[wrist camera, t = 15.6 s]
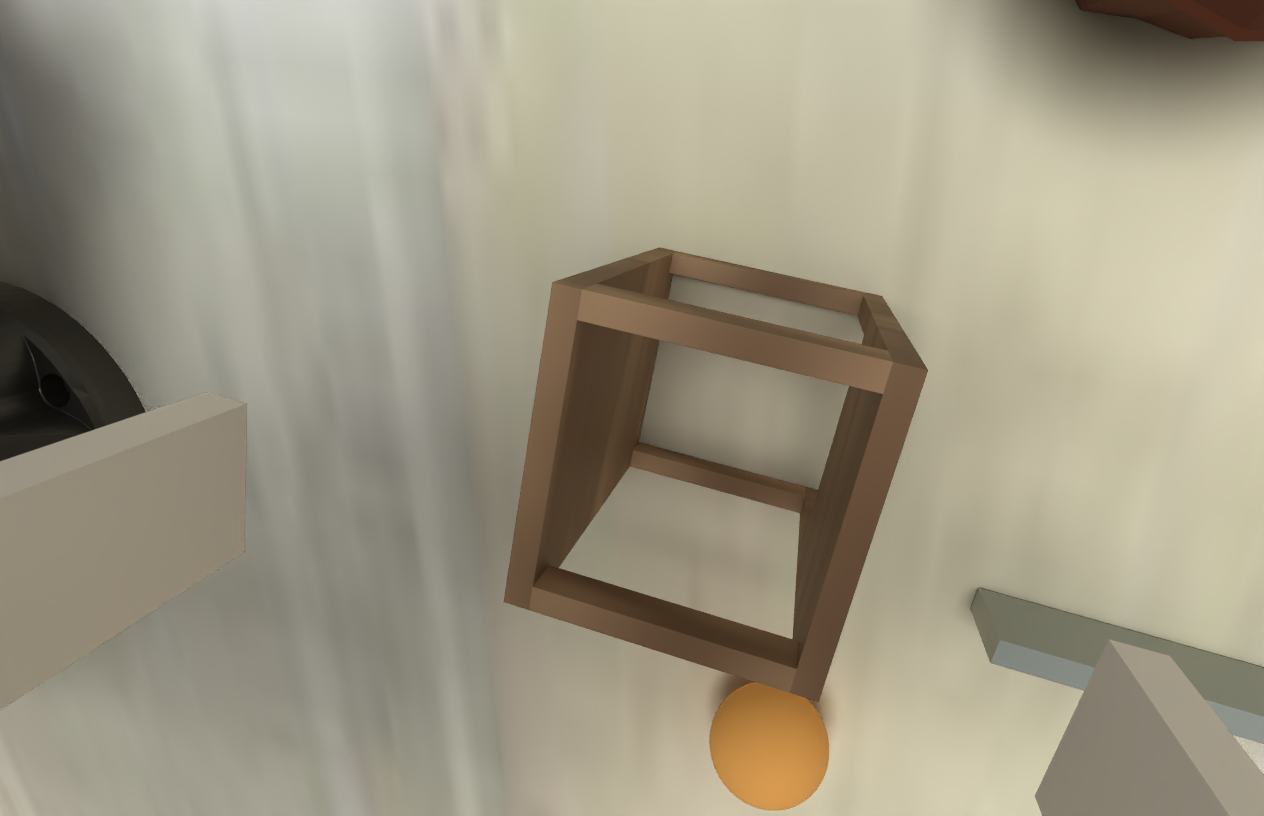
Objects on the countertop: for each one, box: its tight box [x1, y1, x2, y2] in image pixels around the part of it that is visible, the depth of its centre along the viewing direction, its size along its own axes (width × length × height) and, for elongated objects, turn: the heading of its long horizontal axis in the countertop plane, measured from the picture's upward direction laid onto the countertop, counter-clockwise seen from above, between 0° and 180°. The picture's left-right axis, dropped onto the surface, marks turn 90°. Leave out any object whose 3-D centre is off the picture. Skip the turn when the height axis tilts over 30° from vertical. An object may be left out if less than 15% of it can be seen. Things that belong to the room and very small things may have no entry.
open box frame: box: [504, 248, 928, 702], centre depth 19 cm, size 7×7×10 cm
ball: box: [710, 682, 829, 810], centre depth 25 cm, size 4×4×4 cm
